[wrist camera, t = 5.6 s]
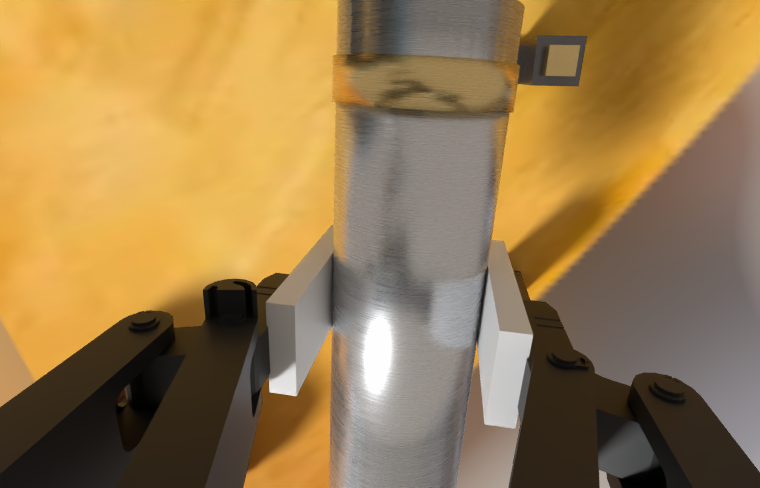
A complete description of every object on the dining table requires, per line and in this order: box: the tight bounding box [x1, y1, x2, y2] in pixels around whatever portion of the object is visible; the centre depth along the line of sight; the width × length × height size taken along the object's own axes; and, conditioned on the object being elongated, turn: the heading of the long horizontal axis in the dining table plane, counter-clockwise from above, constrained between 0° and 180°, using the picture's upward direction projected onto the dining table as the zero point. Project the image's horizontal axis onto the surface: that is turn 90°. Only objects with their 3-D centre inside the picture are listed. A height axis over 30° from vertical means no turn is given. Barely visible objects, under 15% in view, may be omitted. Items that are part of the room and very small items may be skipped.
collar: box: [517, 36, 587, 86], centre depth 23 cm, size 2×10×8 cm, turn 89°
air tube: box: [329, 0, 525, 488], centre depth 15 cm, size 18×5×5 cm, turn 177°
